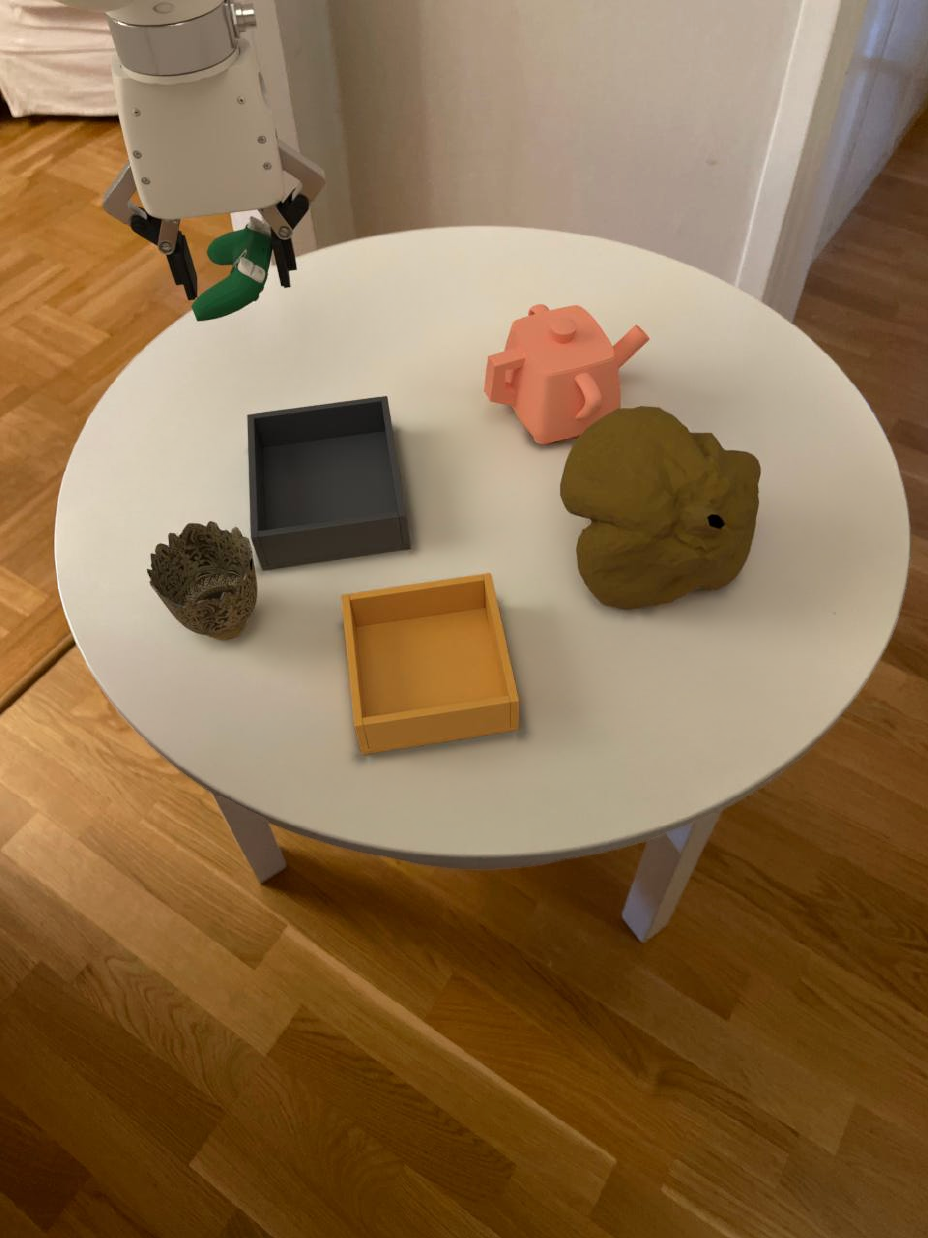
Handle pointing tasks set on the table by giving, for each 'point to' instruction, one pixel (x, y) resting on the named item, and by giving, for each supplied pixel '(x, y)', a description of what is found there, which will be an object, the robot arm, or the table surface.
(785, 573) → the table surface
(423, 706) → the ochre bin
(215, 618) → the cup
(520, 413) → the teapot
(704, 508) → the olive-brown lumpy blob
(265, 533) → the charcoal bin
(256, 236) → the gaming controller
